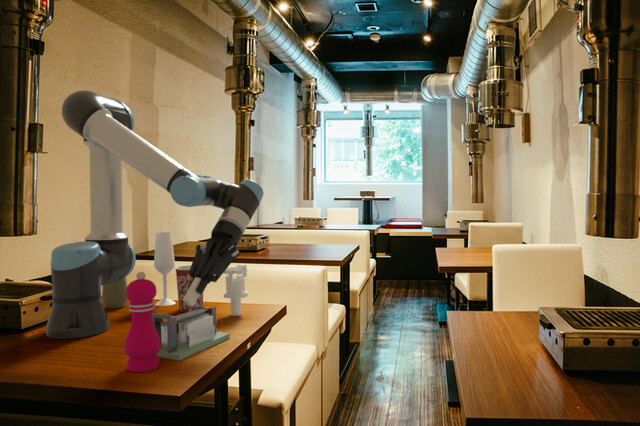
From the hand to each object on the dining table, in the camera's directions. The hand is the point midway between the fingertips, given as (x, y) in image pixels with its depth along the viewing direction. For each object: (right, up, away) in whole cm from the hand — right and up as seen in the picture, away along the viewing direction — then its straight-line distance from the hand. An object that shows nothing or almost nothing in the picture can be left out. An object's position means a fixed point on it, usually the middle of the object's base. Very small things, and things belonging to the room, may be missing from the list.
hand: (187, 303), depth 115 cm
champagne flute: (-20, -9, +48) cm, 53 cm away
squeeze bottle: (-36, -9, +44) cm, 57 cm away
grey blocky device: (0, -9, 0) cm, 9 cm away
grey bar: (0, -4, 0) cm, 4 cm away
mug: (-10, -9, +40) cm, 42 cm away
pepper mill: (-6, -11, -13) cm, 18 cm away
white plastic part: (+6, -9, +31) cm, 33 cm away
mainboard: (0, -10, +1) cm, 10 cm away
